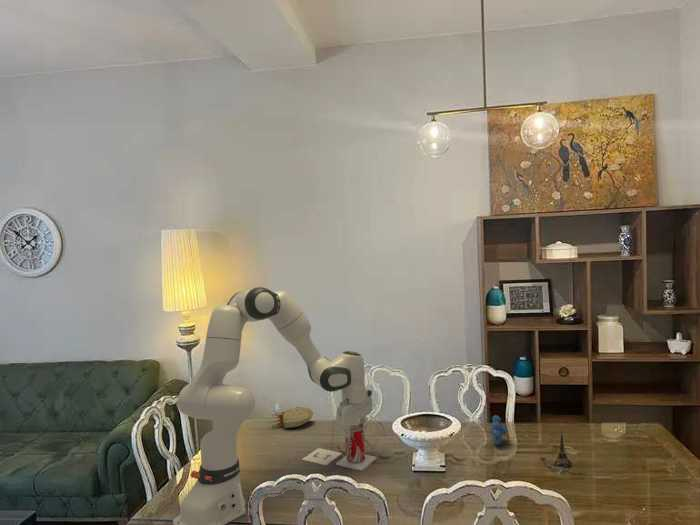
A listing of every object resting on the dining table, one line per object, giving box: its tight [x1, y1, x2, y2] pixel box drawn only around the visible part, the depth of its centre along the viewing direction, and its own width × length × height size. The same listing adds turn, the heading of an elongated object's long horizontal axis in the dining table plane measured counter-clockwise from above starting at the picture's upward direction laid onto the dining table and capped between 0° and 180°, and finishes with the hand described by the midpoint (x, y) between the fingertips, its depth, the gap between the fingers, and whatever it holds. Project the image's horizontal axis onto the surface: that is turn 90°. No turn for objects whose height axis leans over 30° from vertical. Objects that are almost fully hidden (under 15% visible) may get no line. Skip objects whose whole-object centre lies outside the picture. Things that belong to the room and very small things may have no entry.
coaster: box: [335, 454, 378, 471], centre depth 187 cm, size 11×11×1 cm
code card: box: [301, 447, 343, 466], centre depth 192 cm, size 11×11×1 cm
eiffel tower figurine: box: [538, 429, 586, 476], centre depth 176 cm, size 15×10×13 cm
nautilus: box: [267, 406, 314, 430], centre depth 227 cm, size 8×22×15 cm
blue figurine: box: [489, 414, 509, 446], centre depth 195 cm, size 12×7×12 cm, turn 164°
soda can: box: [344, 424, 366, 463], centre depth 187 cm, size 7×7×12 cm
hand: (355, 432), depth 186 cm, fingers open, 8 cm apart
